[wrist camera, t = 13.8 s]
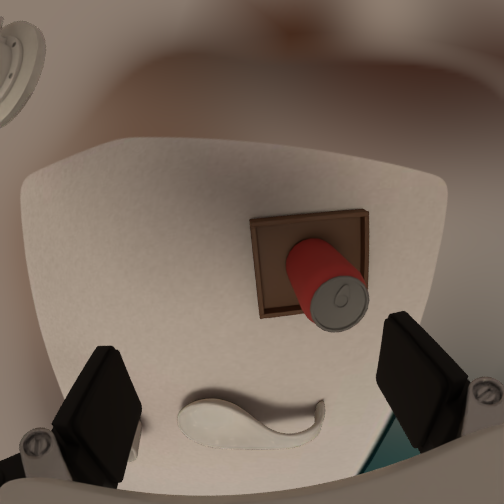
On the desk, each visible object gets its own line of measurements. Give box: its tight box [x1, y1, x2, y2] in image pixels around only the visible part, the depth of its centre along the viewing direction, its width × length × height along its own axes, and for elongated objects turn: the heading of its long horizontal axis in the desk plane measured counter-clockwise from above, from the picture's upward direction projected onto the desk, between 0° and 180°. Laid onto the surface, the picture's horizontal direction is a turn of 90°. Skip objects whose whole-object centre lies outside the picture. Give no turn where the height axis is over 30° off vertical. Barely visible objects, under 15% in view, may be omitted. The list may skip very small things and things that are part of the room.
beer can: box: [286, 238, 369, 332], centre depth 31 cm, size 7×7×12 cm
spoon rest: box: [177, 399, 325, 450], centre depth 41 cm, size 24×12×7 cm, turn 90°
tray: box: [250, 209, 369, 319], centre depth 36 cm, size 12×14×2 cm
